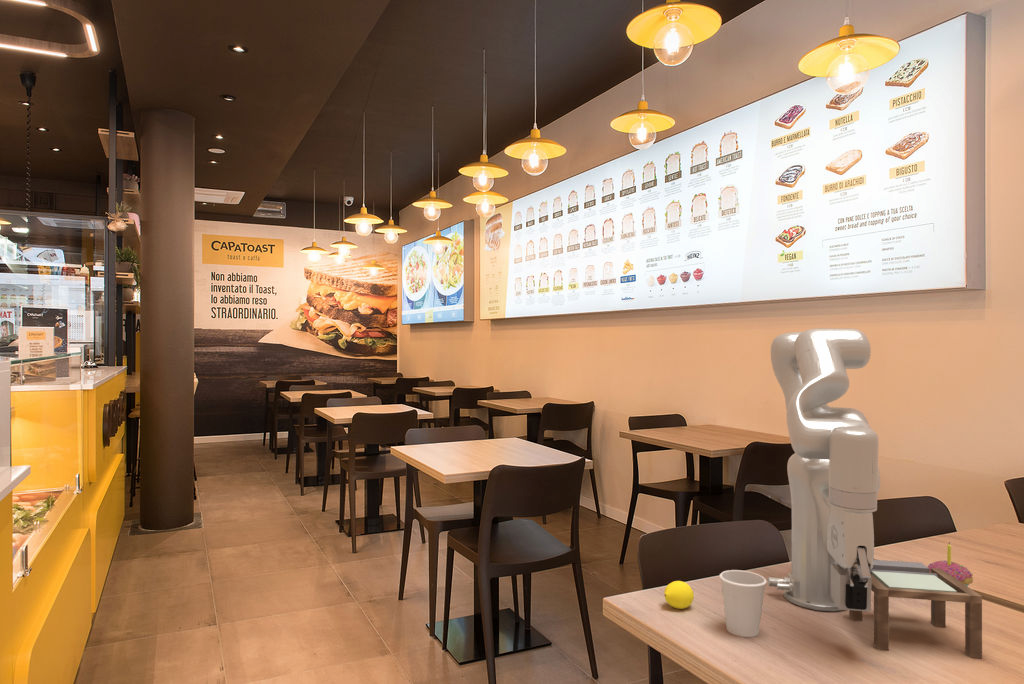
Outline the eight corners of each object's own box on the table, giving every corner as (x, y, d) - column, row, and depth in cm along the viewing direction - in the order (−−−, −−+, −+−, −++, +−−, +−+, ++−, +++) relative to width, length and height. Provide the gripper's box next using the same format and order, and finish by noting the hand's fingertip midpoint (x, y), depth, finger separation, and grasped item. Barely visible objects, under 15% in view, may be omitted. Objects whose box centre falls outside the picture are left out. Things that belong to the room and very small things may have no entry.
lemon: (681, 603, 136) (684, 577, 136) (699, 612, 131) (702, 585, 132) (655, 603, 133) (658, 577, 134) (672, 613, 128) (675, 585, 129)
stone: (839, 609, 111) (840, 575, 111) (830, 597, 116) (831, 564, 116) (870, 611, 110) (871, 577, 110) (860, 599, 115) (861, 566, 115)
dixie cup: (709, 625, 124) (710, 572, 124) (743, 618, 127) (743, 567, 127) (741, 643, 116) (741, 587, 116) (776, 636, 119) (776, 581, 120)
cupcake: (974, 605, 136) (974, 547, 136) (926, 596, 140) (926, 541, 140) (971, 592, 143) (971, 538, 143) (925, 585, 147) (925, 532, 148)
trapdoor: (886, 601, 116) (886, 583, 116) (858, 574, 130) (858, 558, 130) (960, 606, 114) (960, 588, 114) (923, 579, 128) (923, 562, 128)
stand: (877, 649, 114) (877, 589, 114) (849, 616, 129) (849, 562, 129) (982, 658, 111) (982, 596, 111) (941, 623, 126) (941, 568, 126)
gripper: (815, 484, 122) (813, 580, 122) (845, 511, 105) (843, 622, 106) (858, 486, 120) (856, 582, 121) (895, 514, 103) (893, 625, 104)
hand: (850, 600), depth 113 cm, fingers closed on stone, 5 cm apart
